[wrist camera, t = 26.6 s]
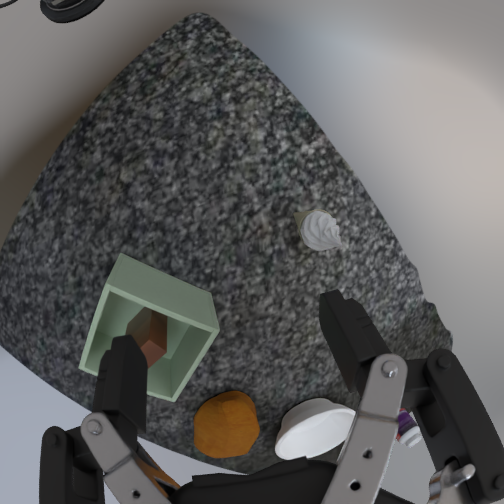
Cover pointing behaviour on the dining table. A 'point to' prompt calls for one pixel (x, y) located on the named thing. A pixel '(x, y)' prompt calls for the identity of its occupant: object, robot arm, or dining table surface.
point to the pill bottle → (407, 429)
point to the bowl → (313, 428)
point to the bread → (226, 425)
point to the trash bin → (161, 300)
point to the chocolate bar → (149, 333)
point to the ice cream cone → (318, 229)
